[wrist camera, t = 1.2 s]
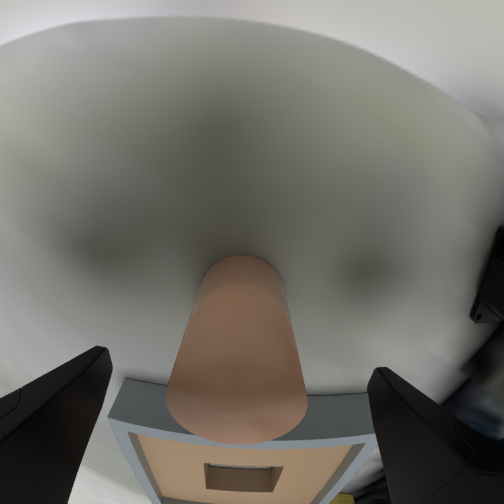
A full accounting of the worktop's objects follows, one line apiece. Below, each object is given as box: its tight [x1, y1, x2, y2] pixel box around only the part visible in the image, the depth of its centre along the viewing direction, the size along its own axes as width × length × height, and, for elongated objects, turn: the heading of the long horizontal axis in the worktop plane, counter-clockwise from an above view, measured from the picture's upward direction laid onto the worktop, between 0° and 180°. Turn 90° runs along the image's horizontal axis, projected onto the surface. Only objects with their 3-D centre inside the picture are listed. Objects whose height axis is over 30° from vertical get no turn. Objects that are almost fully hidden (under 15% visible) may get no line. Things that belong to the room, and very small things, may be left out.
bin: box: [107, 378, 378, 504], centre depth 17 cm, size 16×16×4 cm
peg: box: [165, 255, 308, 445], centre depth 11 cm, size 4×4×7 cm
